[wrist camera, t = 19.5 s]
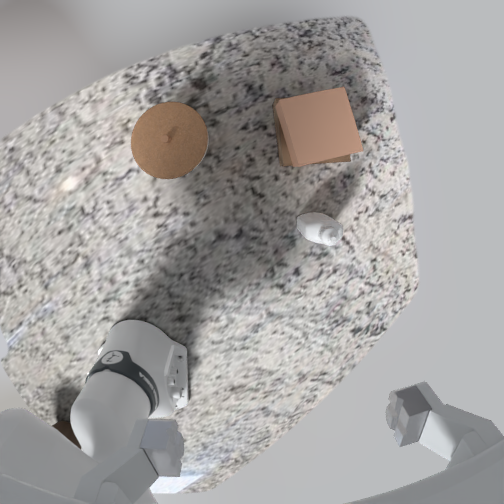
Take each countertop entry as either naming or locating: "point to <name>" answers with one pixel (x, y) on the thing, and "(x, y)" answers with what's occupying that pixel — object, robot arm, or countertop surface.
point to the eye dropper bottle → (319, 228)
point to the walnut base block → (283, 149)
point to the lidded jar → (169, 140)
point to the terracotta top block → (318, 126)
